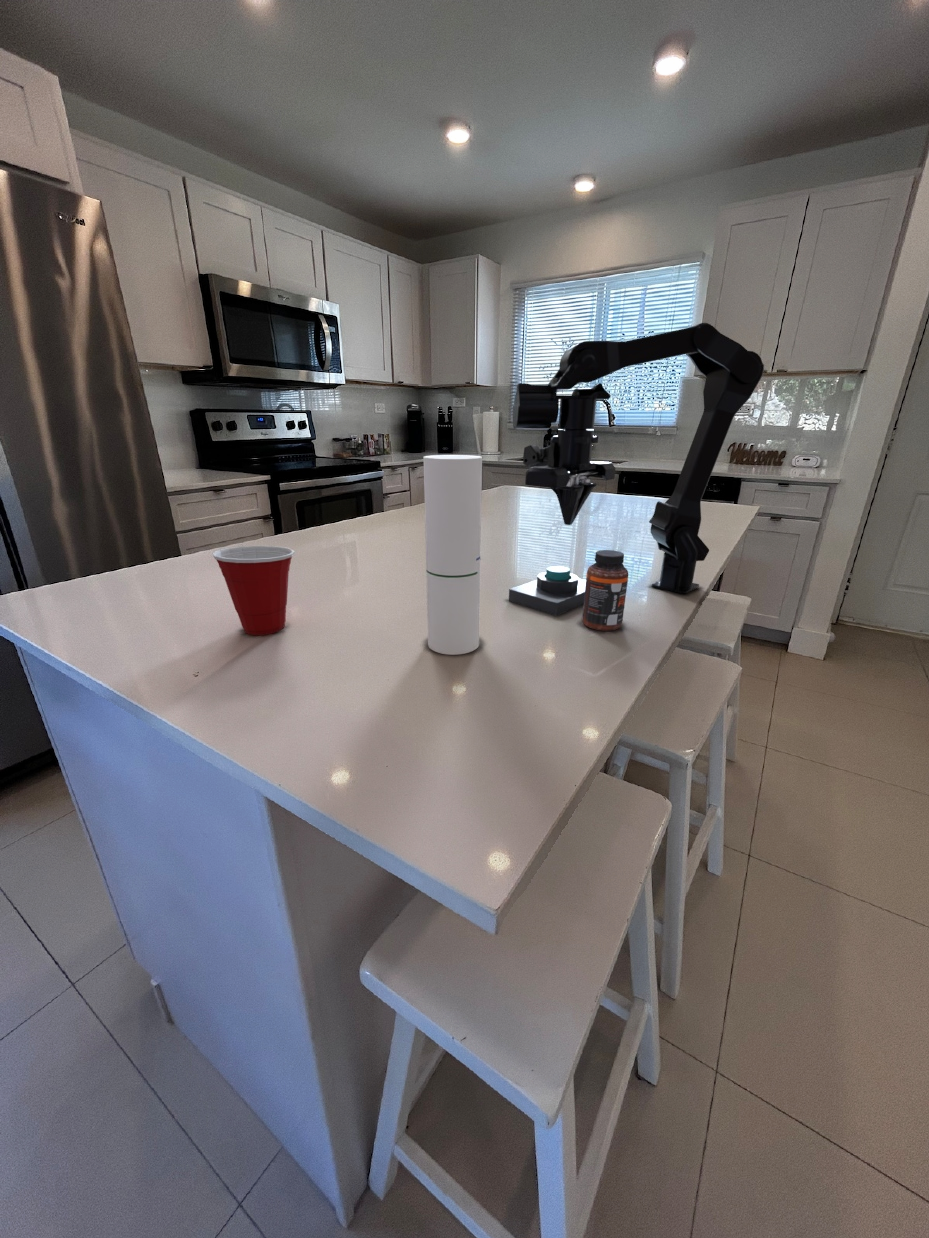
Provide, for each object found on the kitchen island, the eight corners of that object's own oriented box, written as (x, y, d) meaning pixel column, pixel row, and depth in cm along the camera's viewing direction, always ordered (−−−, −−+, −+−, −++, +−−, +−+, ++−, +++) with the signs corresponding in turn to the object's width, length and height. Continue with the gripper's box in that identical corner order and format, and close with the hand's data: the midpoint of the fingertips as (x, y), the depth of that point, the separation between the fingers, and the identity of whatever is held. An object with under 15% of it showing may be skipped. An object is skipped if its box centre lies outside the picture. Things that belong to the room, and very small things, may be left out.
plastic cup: (318, 621, 79) (310, 545, 74) (266, 647, 70) (253, 563, 65) (265, 610, 83) (254, 537, 78) (209, 634, 74) (193, 553, 69)
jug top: (555, 583, 97) (557, 563, 95) (602, 595, 90) (604, 574, 89) (508, 601, 88) (509, 578, 86) (556, 616, 81) (558, 592, 80)
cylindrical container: (485, 637, 73) (489, 455, 64) (469, 657, 67) (471, 459, 58) (439, 630, 75) (436, 454, 66) (419, 650, 69) (413, 458, 60)
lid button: (554, 574, 90) (555, 564, 90) (574, 578, 88) (574, 569, 87) (541, 578, 88) (541, 569, 87) (560, 583, 85) (561, 573, 84)
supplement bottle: (623, 634, 74) (633, 559, 70) (581, 630, 76) (589, 556, 71) (620, 619, 80) (629, 548, 76) (581, 616, 81) (588, 546, 77)
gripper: (567, 428, 95) (560, 512, 100) (501, 429, 82) (498, 525, 88) (621, 429, 87) (611, 520, 93) (558, 431, 75) (551, 535, 81)
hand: (568, 524), depth 89 cm, fingers closed
